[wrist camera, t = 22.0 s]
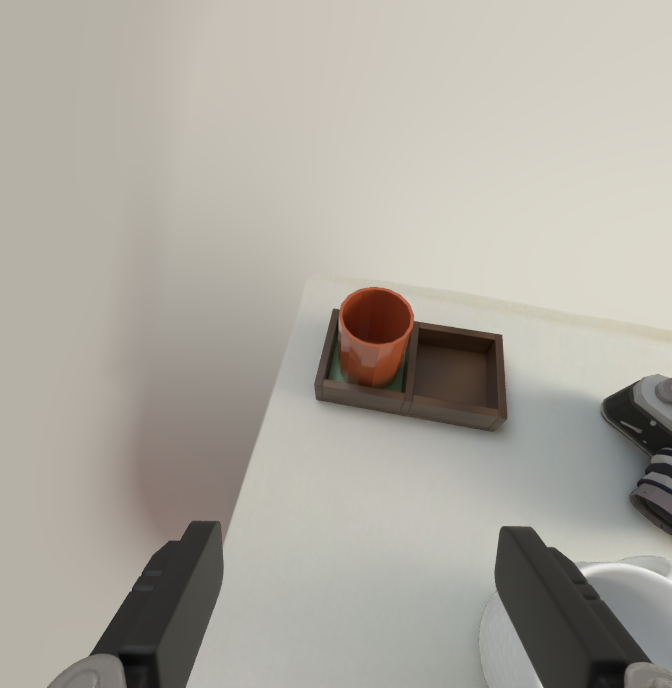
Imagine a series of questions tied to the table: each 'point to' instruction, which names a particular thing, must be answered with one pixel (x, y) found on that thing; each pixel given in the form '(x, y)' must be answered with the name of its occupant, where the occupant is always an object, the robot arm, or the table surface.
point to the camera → (648, 441)
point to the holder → (429, 377)
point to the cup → (373, 336)
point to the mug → (620, 596)
